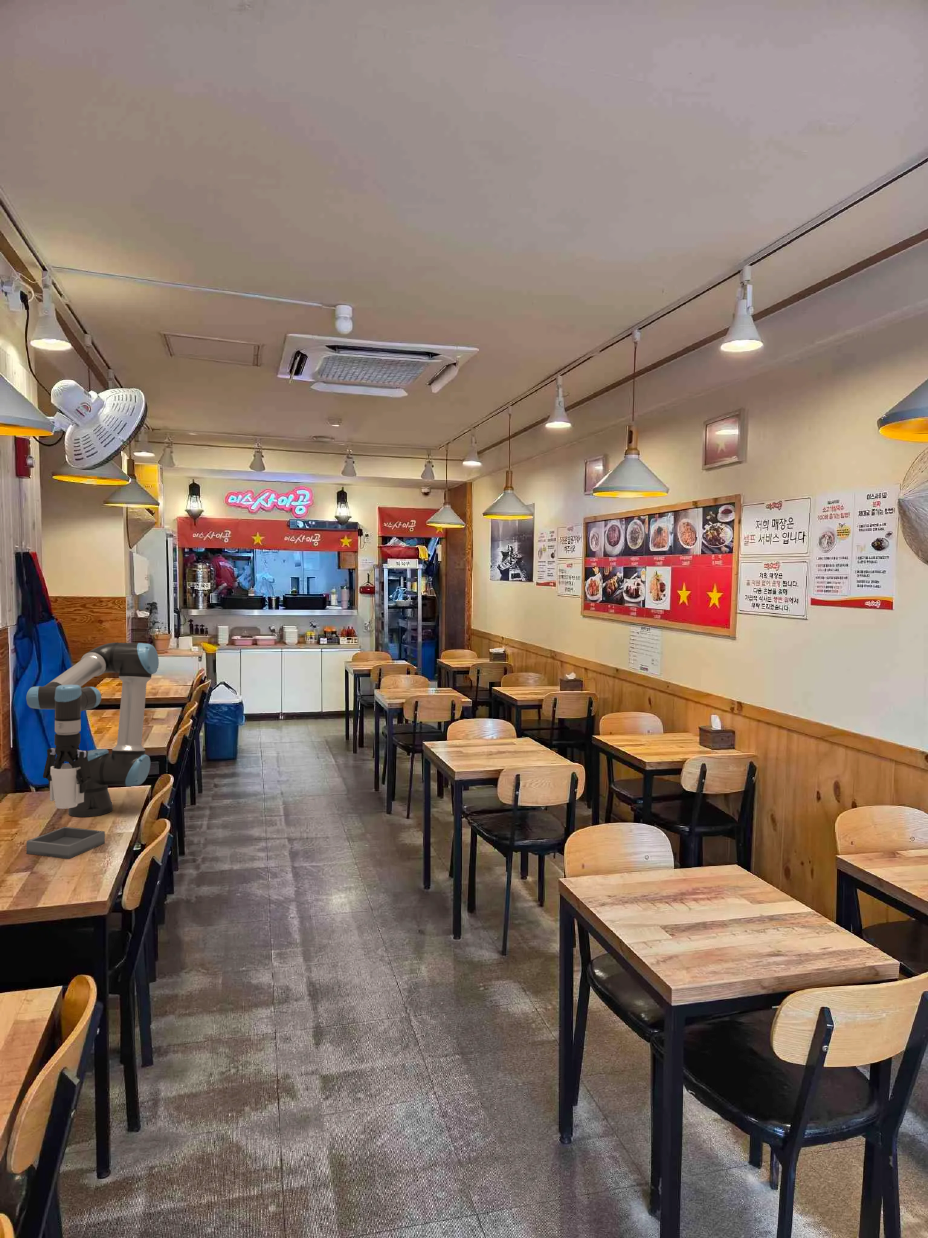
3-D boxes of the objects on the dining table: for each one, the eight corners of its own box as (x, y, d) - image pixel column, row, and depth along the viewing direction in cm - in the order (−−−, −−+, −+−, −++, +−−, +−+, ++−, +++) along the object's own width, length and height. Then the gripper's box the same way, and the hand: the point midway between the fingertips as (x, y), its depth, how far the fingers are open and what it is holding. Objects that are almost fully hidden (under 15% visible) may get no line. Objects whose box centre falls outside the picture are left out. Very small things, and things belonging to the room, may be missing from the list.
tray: (64, 838, 257) (64, 826, 257) (104, 843, 253) (104, 831, 253) (26, 853, 242) (26, 841, 242) (68, 859, 238) (68, 846, 238)
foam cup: (89, 804, 249) (89, 765, 249) (63, 811, 241) (64, 770, 241) (69, 800, 253) (69, 762, 253) (43, 807, 245) (44, 767, 245)
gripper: (30, 732, 246) (29, 801, 246) (88, 737, 240) (87, 807, 241) (48, 728, 253) (47, 795, 253) (104, 733, 248) (103, 801, 248)
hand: (66, 801), depth 247 cm, fingers closed on foam cup, 9 cm apart
